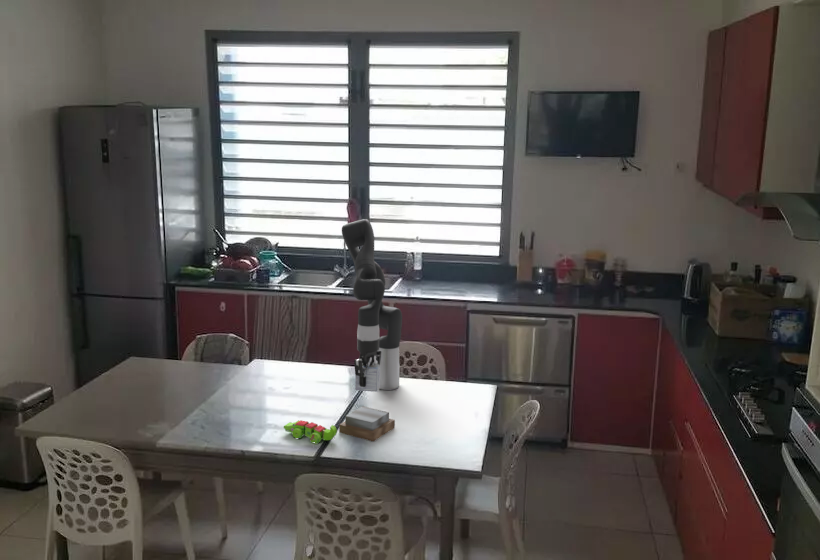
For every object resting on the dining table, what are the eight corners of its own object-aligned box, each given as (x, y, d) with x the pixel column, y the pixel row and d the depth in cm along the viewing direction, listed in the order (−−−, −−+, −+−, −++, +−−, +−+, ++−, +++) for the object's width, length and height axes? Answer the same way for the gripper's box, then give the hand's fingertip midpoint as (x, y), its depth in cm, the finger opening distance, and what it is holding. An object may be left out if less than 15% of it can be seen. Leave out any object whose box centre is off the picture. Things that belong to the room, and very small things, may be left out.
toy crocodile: (280, 435, 263) (280, 418, 262) (292, 428, 269) (292, 412, 268) (328, 448, 254) (328, 431, 253) (339, 441, 260) (339, 424, 258)
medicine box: (379, 388, 268) (380, 364, 266) (377, 392, 263) (378, 368, 261) (357, 386, 268) (357, 362, 267) (354, 390, 264) (355, 366, 262)
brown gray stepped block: (361, 419, 278) (361, 403, 277) (394, 427, 271) (394, 411, 270) (339, 432, 266) (339, 416, 265) (373, 441, 259) (373, 425, 258)
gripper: (370, 330, 270) (369, 376, 273) (347, 340, 257) (346, 387, 261) (388, 333, 266) (387, 380, 270) (366, 343, 254) (365, 392, 257)
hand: (367, 383), depth 265 cm, fingers closed on medicine box, 5 cm apart
